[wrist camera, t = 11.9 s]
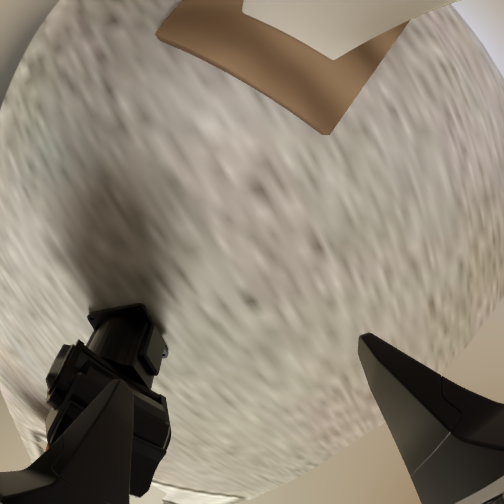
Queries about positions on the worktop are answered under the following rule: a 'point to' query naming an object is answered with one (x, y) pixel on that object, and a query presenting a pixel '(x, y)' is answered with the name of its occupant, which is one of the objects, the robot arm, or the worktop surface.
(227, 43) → the cutting board
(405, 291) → the worktop surface
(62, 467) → the robot arm
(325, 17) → the milk carton
